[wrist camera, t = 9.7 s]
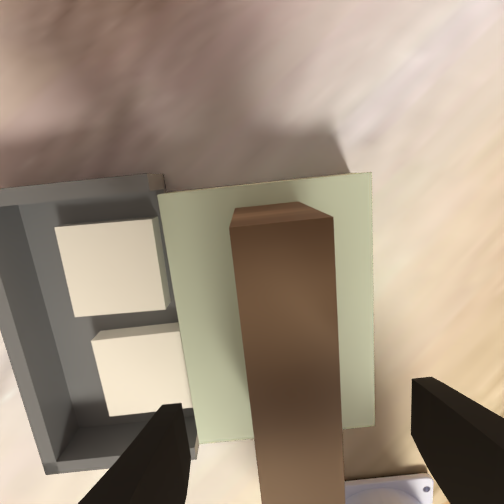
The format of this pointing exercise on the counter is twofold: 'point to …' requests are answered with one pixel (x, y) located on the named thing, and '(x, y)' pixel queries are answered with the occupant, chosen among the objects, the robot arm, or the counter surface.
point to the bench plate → (226, 303)
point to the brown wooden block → (291, 349)
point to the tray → (69, 319)
